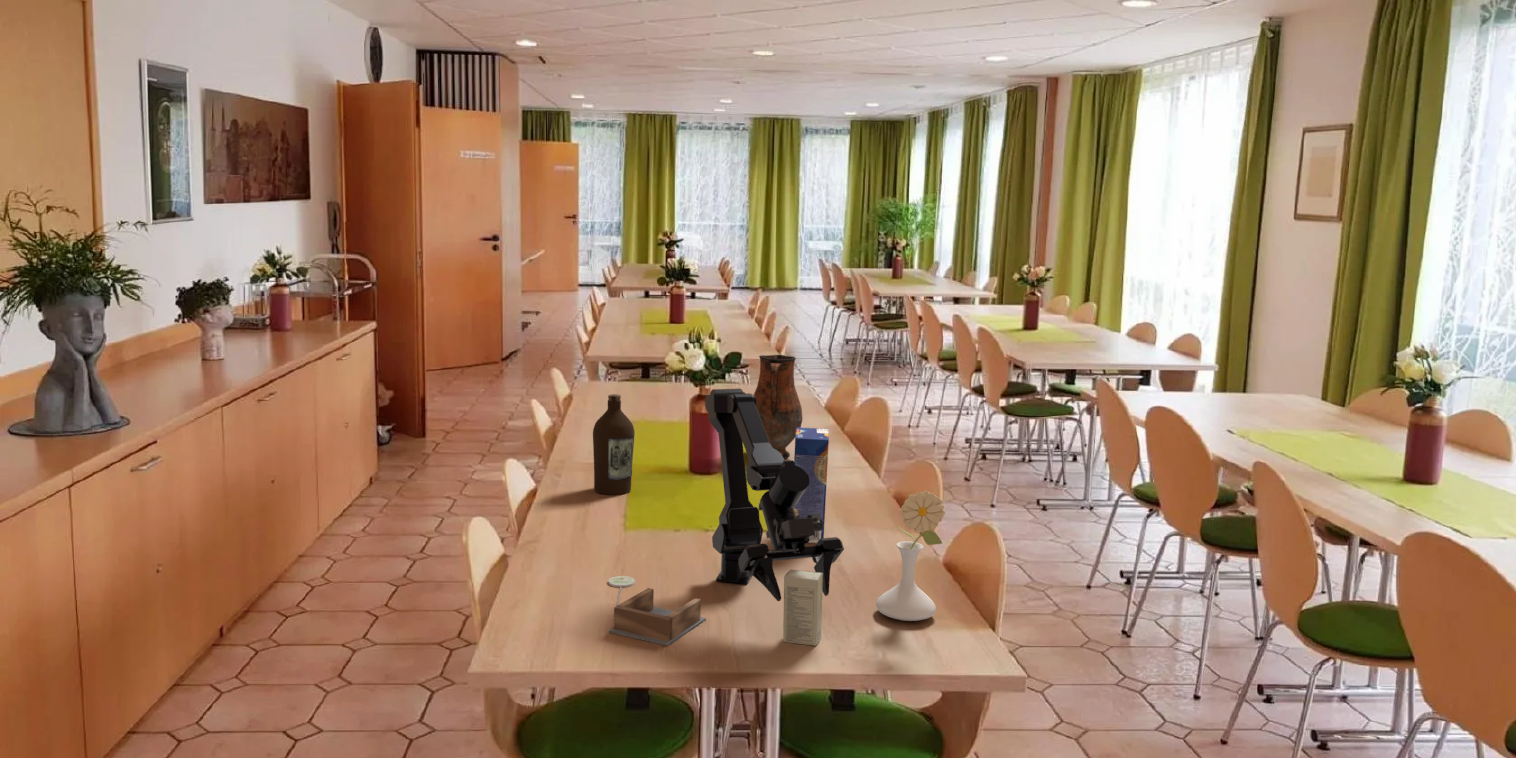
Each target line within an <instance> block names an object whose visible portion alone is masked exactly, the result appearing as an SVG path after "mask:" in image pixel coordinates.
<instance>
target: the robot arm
mask: <svg viewBox="0 0 1516 758" xmlns="http://www.w3.org/2000/svg"><path fill="white" fill-rule="evenodd" d="M704 404H705V405H704V406H705V410H706V412H707V415H708V421H709V422H710V424H711V425H712V427H713V428H714V430H716V432H717V433H718V443H719V453H720V463H721V471H722V473H721V474H722V482H723V493H724V502H725V504H724V506H723V508H722V510H721V512H720V514H719V517H718V525H717V528H716V530H715V531H714V533H713V535H712V536H711V541H712V548H713V549H714V550H715V551H717V553H719V554H720V555H721V558H720V559H721V560H720V561H721V562H720V572H719V573H718V575H717V577H716V578H715V581H716V582H723V583H732V584H742V585H747V584H748V583H749V582H750V580H751V579H752V577H754V578H755V579H756V580H757V581H758V582H759V583H761V585H762V586H764V587H765V589H766V590H767V591H768V592H769V593H770V594H771V595H772V597H773V598H774V599H775V600H776V601H777V602H780V601H782V595H781V590H780V587H779V584H778V581H777V578H776V574H775V571H774V568H773V567H774V566H773V561H774V562H777V561H785V560H796V559H805V558H811V559H812V562H814V564H815V565H814V567H813V569H814V572H819V573H823V588H822V594H823V595H824V596H825V597H827V596H829V593H830V580H831V579H830V576H831V568H832V564H835V562H836V561H837V560H838V558H839V557H840V556H841V555H842V553H843V551H844V550H845V548H844V545H843V541H842V539H840V538H839V537H837V536H834V537H833V536H832V537H824V538H821V539H819V541H818V542H817V543H815V545H812V546H806V544H809V543H808V542H809V540H810V539H809V536H812V535H813V536H815V532H818V531H821V530H822V529H823V522H822V518H821V516H820V513H812V514H810V515H808V516H807V518H800V516H796V514H795V511H794V507H793V506H794V505H796V504H797V503H798V501H799V500H800V498H801V497H802V495H803V494H804V492H805V490H806V489H807V487H808V485H809V481H810V480H809V476H808V474H807V473H806V472H805V471H804V470H803V469H802V468H800V467H798V466H796V465H795V464H794V460H785V459H784V458H783V456H782V454H781V453H780V452H779V451H777V450H776V449H774V448H773V447H772V446H771V444H770V442H769V439H768V437H767V434H766V431H765V429H764V426H763V424H762V421H761V418H760V416H759V413H758V411H757V408H756V398H755V396H754V394H752V393H746V392H744V391H743V389H742V388H716V389H714V388H712V389H711V390H710V393H709V394H707V395H706V396H705V399H704ZM744 449H745V451H744ZM745 452H746V455H747V459H748V461H747V464H746V463H745V461H746V460H745ZM748 485H749V487H750V488H751V490H753V491H756V492H759V491H766V492H764V493H763V494H762V496H761V498H760V499H759V503H758V507H757V506H754V505H753V504H752V503H751V501H750V500H749V491H748ZM760 511H761V512H762V514H763V517H764V521H765V524H766V525H765V526H766V529H767V530H766V532H765V536H766V539H769V540H770V542H771V546H772V547H771V548H772V549H769V546H768V545H767V544H766V543H762V539H763V533H764V529H763V525H762V523H761V520H760V519H761V518H760Z"/></svg>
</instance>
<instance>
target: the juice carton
mask: <svg viewBox="0 0 1516 758" xmlns="http://www.w3.org/2000/svg"><path fill="white" fill-rule="evenodd" d="M829 443H830V439H829V428H816V427H815V428H814V427H801V428H800V427H796V435H795V438H794V458H793V459H794V460H793V461H794V464H795V465H796V466H798V467H800V468H802V469H803V470H804V471H805V472H806V473H807V474H808V476H809V480H810V481H809V485H808V487H807V489H806V490H805V492H804V494H803V495H802V497H801V498H800V500H799V501H798V503H797V504H796V505H794V506H793V507H794V511H795V514H796V516H800V518H807V516H808V515H810V514H812V513H820V516H821V518H822V522H823V529H822V530H821V531H818V532H815V536H813V535H812V536H809V539H810V540H809V542H808V543H807V544H809V543H810V544H817V542H818V541H819V539H821V538H825V537H824V535H825V517H826V516H825V515H826V498H827V482H828V481H827V479H828V478H827V477H828V462H829Z"/></svg>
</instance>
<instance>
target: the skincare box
mask: <svg viewBox="0 0 1516 758" xmlns="http://www.w3.org/2000/svg"><path fill="white" fill-rule="evenodd" d="M783 580H784V581H783V622H782V625H783V628H782V631H783V633H782V642H783V643H790V644H800V645H807V646H817V645H818V643H819V642H820V640H822V639H821V638H822V629H823V628H822V627H823V626H822V621H823V620H822V619H823V591H822V588H823V573H819V572H815V571H811V570H810V571H808V570H798V569H789V570H788V571H787V573H786V574H784V578H783Z"/></svg>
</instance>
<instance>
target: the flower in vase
mask: <svg viewBox="0 0 1516 758" xmlns="http://www.w3.org/2000/svg"><path fill="white" fill-rule="evenodd" d="M943 503H944V501H943V500H942V499H941V498H940V497H939V496H937V495H935V494H934V493H932V492H929V491H928V490H924V491H922V492H921V491H917V492H916V493H914V494H909V495H908V498H907V499H905V500H904V503H903V505H902V506H901V509H900V513H901V514H902V515H901V519H903V520H902V523H903V525H904V526H905V527H908V529H909V530H913V531H914V532H915V533H919V535H918V537H917V538H915V537H914V536H913V535H912V534H911V533H910V532H907V530H904V529H903V528H901V526H900V525H899V524H897V526H898V528H899V530H900V531H901V532H903V533H904V534H905V535H907V536H909V537H911V538H912V539H913V540H914V541H911V540H909V541H908V540H907V541H904V540H903V541H899V542H897V543H896V544H895V545H896V547H897V548H898V550H899V552H900V556H901V564H902V565H901V567H902V571H901V578H900V581H899V582H898V583H897V584H896V585H895V586H893V587H892V588H890V589H888V590H887V591H885V592H884V593H883V594H881V595H880V596H879V597H878V598H877V601H875V606H876V609H877V611H878V612H880V613H881V614H882V615H884V616H886V617H888V618H891V619H894V620H899V621H905V622H912V621H914V622H916V621H917V622H918V621H923V620H927V619H929V618H931V617H933V615H935V613H936V612H937V607H936V604H935V602H934V601H933V600H932V599H931V598H930V596H928V595H927V594H926V593H925V592H924V591H923V590H922V589H921V588H920V587H918V585H917V584H916V582H915V567H916V562H917V558H918V555H919V554H920V553H921V551H922V550H923V549H924V545H923V544H921V543H919V542H918V541H919V539H920V538H921V537H922V538H923V540H924V542H925V544H927V545H931V546H933V545H941V544H943V542H942V539H941V538H940V537H939V535H938V534H937V532H935V529H936V528H937V527H938V526H939V523H940V522H942V521H943V518H944V516H945V515H946V511H945V510H944V508H945V507H944V504H943Z"/></svg>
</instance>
